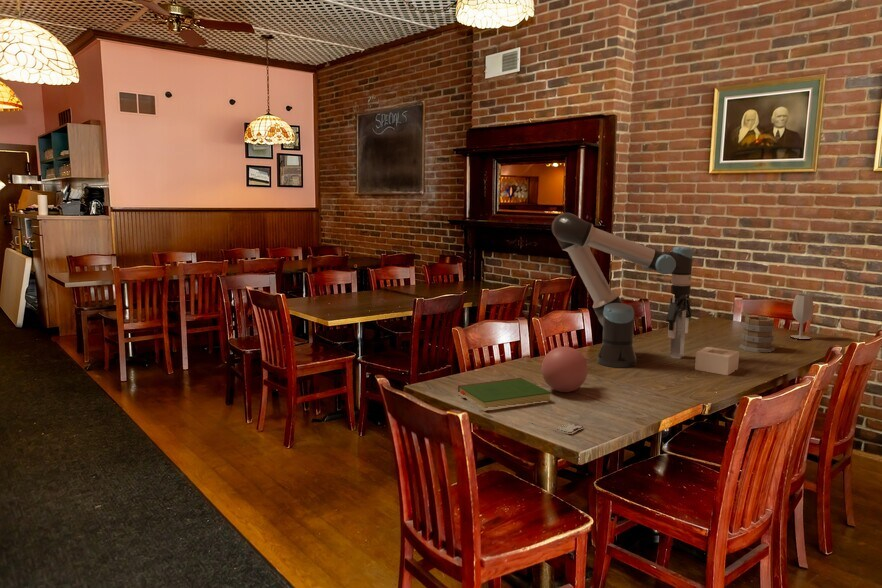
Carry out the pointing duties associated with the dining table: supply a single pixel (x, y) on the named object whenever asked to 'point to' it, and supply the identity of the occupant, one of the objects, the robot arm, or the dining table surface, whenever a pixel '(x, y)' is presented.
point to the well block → (717, 360)
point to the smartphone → (570, 428)
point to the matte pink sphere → (564, 369)
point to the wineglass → (802, 312)
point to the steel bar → (679, 336)
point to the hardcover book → (504, 392)
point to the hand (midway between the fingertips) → (678, 335)
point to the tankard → (757, 333)
